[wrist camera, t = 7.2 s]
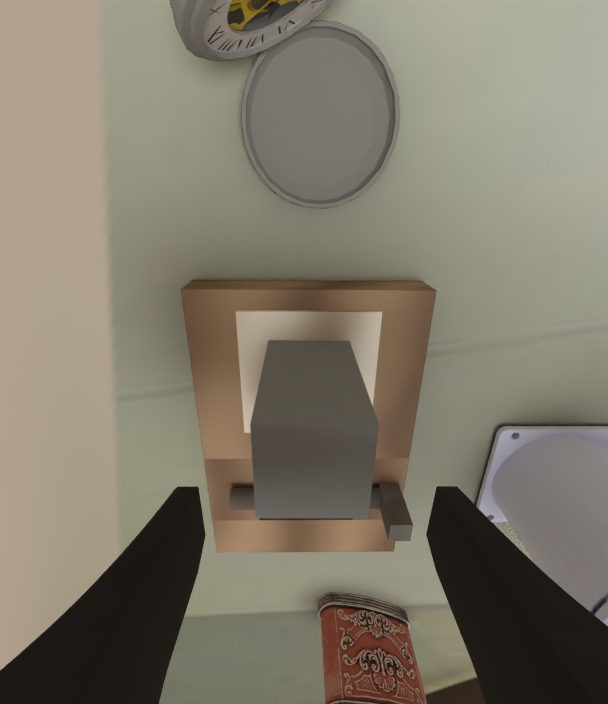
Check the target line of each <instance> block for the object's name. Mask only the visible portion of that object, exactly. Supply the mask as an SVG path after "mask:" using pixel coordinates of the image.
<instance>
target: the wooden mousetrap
mask: <svg viewBox="0 0 608 704" xmlns="http://www.w3.org/2000/svg"><path fill="white" fill-rule="evenodd" d="M181 294H182V301H183V308H184V316H185V323H186V330H187V338H188V345H189V352H190V360H191V367H192V374H193V382H194V389H195V396H196V404H197V411H198V418H199V426H200V433H201V440H202V448H203V455H204V462H205V470H206V477H207V484H208V492H209V499H210V506H211V514H212V521H213V528H214V536H215V543H216V550H217V553H224V552H372V551H394V547H395V541H410V539H411V534H412V528H413V523H412V521H411V518H410V515H409V512H408V509H407V506H406V503H405V501H404V498H403V492H404V485H405V479H406V473H407V467H408V461H409V455H410V449H411V443H412V436H413V430H414V424H415V418H416V412H417V406H418V400H419V394H420V387H421V381H422V375H423V369H424V363H425V357H426V351H427V345H428V338H429V332H430V326H431V320H432V314H433V308H434V302H435V296H436V290H435V289H433V288H432V287H430V286H429V285H427V284H426V283H424V282H423V281H241V280H193V281H191V282H190V283H189V284H187V285H186V286H185V287H183V288H182V289H181ZM268 340H308V341H350V344H351V347H352V349H353V352H354V355H355V358H356V361H357V364H358V366H359V369H360V372H361V375H362V378H363V380H364V383H365V386H366V389H367V392H368V395H369V397H370V400H371V403H372V406H373V409H374V412H375V414H376V417H377V420H378V423H379V432H378V440H377V448H376V457H375V465H374V473H373V481H372V489H371V498H370V506H369V514H368V518H256V516H255V499H254V482H253V465H252V448H251V430H250V423H251V419H252V414H253V409H254V405H255V400H256V395H257V391H258V386H259V381H260V377H261V372H262V368H263V363H264V358H265V354H266V349H267V344H268Z"/></svg>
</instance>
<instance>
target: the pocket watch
mask: <svg viewBox="0 0 608 704" xmlns="http://www.w3.org/2000/svg"><path fill="white" fill-rule="evenodd" d="M332 1H333V0H170V5H171V8H172V11H173V15H174V20H175V25H176V29H177V30H178V32H179V34H180V36H181V38H182V40H183V42H184V44H185V46H186V48H187V50H189V51H190V52H191V53H193V54H194V55H195V56H197V57H201V58H205V59H209V60H215V61H232V60H236V59H240V58H244V57H248V56H251V55H254V54H257V53H259V52H262V53H261V55H260V56H259V57H258V58H257V61H256V63H255V65H254V67H253V69H252V71H251V73H250V75H249V77H248V79H247V82H246V86H245V90H244V95H243V102H242V113H241V119H242V131H243V139H244V142H245V145H246V148H247V152H248V155H249V158H250V160H251V162H252V164H253V166H254V168H255V170H256V171H257V172H258V174H259V175H260V176H261V178H262V179H263V180H264V182H265V183H266V184H267V185H268V186H269V187H270V188H271V189H272V190H273V191H274V192H275V193H277V194H278V195H280V196H282V197H283V198H285V199H287V200H288V201H290V202H292V203H294V204H296V205H299V206H303V207H311V208H320V209H322V208H330V207H334V206H337V205H341V204H344V203H346V202H349V201H351V200H353V199H354V198H356V197H357V196H359V195H360V194H361V193H363V192H364V191H366V190H367V189H368V188H369V187H370V186H371V185H372V184H373V183H374V182H375V181H376V180H377V178H378V177H379V176H380V174H381V173H382V171H383V170H384V168H385V166H386V165H387V163H388V161H389V158H390V156H391V154H392V151H393V149H394V147H395V143H396V139H397V135H398V130H399V120H400V108H399V96H398V92H397V88H396V84H395V80H394V76H393V73H392V71H391V69H390V68H389V66H388V64H387V62H386V60H385V58H384V56H383V54H382V53H381V52H380V50H379V49H378V48H377V46H376V45H375V44H374V43H373V42H371V41H370V40H369V39H368V38H367V37H365V36H364V35H363V34H362V33H361V32H360V31H358V30H356V29H353V28H351V27H349V26H346V25H344V24H341V23H339V22H333V21H322V20H320V21H311V20H312V19H314V18H315V17H316V16H317V15H318V14H320V13H321V12H322V11H323V10H324V9H325V8H326V7H327V6H328V5H329V4H330V3H331V2H332Z"/></svg>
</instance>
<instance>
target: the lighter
mask: <svg viewBox="0 0 608 704" xmlns="http://www.w3.org/2000/svg"><path fill="white" fill-rule="evenodd" d="M318 612H319V618H320V619H321V628H322V647H323V666H324V685H325V704H427V702H426V697H425V693H424V690H423V686H422V682H421V678H420V674H419V670H418V666H417V662H416V658H415V654H414V650H413V646H412V642H411V638H410V634H409V621H408V617H407V614H406V612H405V611H404V610H403V609H401V608H398V607H396V606H394V605H391V604H389V603H386V602H383V601H379V600H376V599H373V598H369V597H364V596H359V595H354V594H345V593H337V592H331V593H327V594H325V595H323V596H322V597H321V598H320V599H319V601H318Z"/></svg>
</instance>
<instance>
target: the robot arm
mask: <svg viewBox="0 0 608 704" xmlns="http://www.w3.org/2000/svg"><path fill="white" fill-rule="evenodd" d="M514 433H515V434H514ZM512 434H514V435H512ZM492 522H509V524H510V525H511V527H512V528H513V530H514V531H515V533H516V535H517V536H518V538H519V539H520V541H521V542H522V544H523V545H524V547H525V549H526V550H527V552H528V553H529V555H530V556H531V558H532V559H533V561H534V562H535V564H536V565H535V564H534V563H533V562H532V561H531V560H530V559H529V558H528V557H527V556H526V555H525V554H524V553H523V552H522V551H520V550H519V549H518V548H517V547H516V546H515V545H514V544H513V543H512V542H511V541H510V540H509V539H508V538H507V537H506V536H505V535H504V534H503V533H502V532H501V531H500V530H499V529H498V528H497V527H496V526H495V525H494V524H493V523H492ZM426 535H427V538H428V542H429V546H430V550H431V554H432V557H433V561H434V564H435V568H436V571H437V574H438V576H439V579H440V582H441V584H442V587H443V589H444V592H445V595H446V597H447V600H448V602H449V605H450V607H451V610H452V612H453V615H454V617H455V620H456V622H457V625H458V628H459V630H460V633H461V635H462V638H463V640H464V643H465V645H466V648H467V650H468V653H469V655H470V658H471V660H472V663H473V666H474V669H475V672H476V674H477V677H478V680H479V683H480V686H481V689H482V693H483V696H484V699H485V702H486V704H608V426H505V427H502V428H500V429H499V430H498V431H497V433H496V437H495V440H494V444H493V447H492V451H491V455H490V458H489V462H488V465H487V469H486V472H485V476H484V480H483V483H482V487H481V490H480V494H479V497H478V501H477V504H476V506H475V505H474V504H473V503H472V501H471V500H470V499H469V498H468V497H467V496H466V495H465V494H464V493H463V492H462V491H461V490H460V489H459V488H458V487H437V488H436V492H435V497H434V502H433V506H432V511H431V516H430V520H429V525H428V529H427V534H426ZM204 539H205V529H204V522H203V516H202V509H201V502H200V495H199V488H198V487H177V488H176V489H175V490H174V491H173V492H172V494H171V495H170V496H169V497H168V499H167V500H166V501H165V503H164V504H163V505H162V506H161V508H160V509H159V510H158V511H157V513H156V514H155V515H154V516H153V517H152V519H151V520H150V521H149V522H148V523H147V525H146V526H145V527H144V528H143V530H142V531H141V532H140V533H139V534H138V535H137V536H136V538H135V539H134V540H133V541H132V542H131V543H130V545H129V546H128V547H127V548H126V549H125V550H124V552H123V553H122V554H121V555H120V556H119V557H118V558H117V559H116V560H115V561H114V563H113V564H112V565H111V566H110V567H109V568H108V569H107V570H106V571H105V572H104V573H103V574H102V575H101V576H100V578H99V579H98V580H97V581H96V582H95V583H94V584H93V585H92V586H91V587H90V588H89V589H88V590H87V591H86V592H85V593H84V594H83V595H82V596H81V597H80V598H79V599H78V600H77V601H76V602H75V603H74V604H73V605H72V606H71V607H70V608H69V609H68V610H67V611H66V612H65V613H64V614H63V615H62V616H61V617H60V618H59V619H58V620H56V621H55V622H54V623H53V624H52V625H51V626H50V627H49V628H48V629H47V630H46V631H45V632H43V633H42V634H41V635H40V636H39V637H38V638H37V639H36V640H35V641H34V642H32V643H31V644H30V645H29V646H28V647H27V648H26V649H25V650H23V651H22V652H21V653H20V654H19V655H18V656H17V657H16V658H14V659H13V660H12V661H11V662H10V663H9V664H7V665H6V666H5V667H4V668H3V669H2V670H0V704H159V700H160V696H161V692H162V688H163V684H164V680H165V677H166V673H167V669H168V666H169V662H170V659H171V656H172V653H173V650H174V646H175V643H176V640H177V637H178V634H179V631H180V627H181V624H182V621H183V618H184V615H185V612H186V608H187V605H188V602H189V599H190V596H191V592H192V589H193V586H194V583H195V580H196V576H197V573H198V569H199V564H200V559H201V555H202V549H203V544H204Z"/></svg>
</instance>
